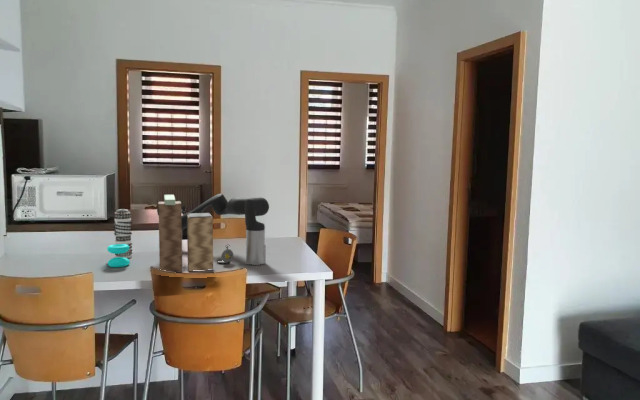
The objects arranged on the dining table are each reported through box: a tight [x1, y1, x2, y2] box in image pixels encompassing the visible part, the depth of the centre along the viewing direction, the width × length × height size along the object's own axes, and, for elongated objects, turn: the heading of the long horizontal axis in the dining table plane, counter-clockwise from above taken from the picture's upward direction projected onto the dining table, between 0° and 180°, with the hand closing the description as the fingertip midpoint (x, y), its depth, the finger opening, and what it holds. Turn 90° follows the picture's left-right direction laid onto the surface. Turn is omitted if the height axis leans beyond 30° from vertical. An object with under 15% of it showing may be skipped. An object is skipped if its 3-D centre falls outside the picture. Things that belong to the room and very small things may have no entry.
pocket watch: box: [216, 243, 234, 264], centre depth 250 cm, size 8×8×10 cm
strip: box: [163, 194, 176, 205], centre depth 235 cm, size 4×24×2 cm, turn 18°
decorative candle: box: [113, 208, 133, 259], centre depth 261 cm, size 9×9×25 cm
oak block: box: [186, 212, 214, 272], centre depth 238 cm, size 11×12×26 cm
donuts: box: [106, 243, 131, 268], centre depth 242 cm, size 10×10×10 cm
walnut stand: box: [158, 200, 183, 273], centre depth 234 cm, size 10×10×32 cm
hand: (171, 204), depth 256 cm, fingers open, 8 cm apart
